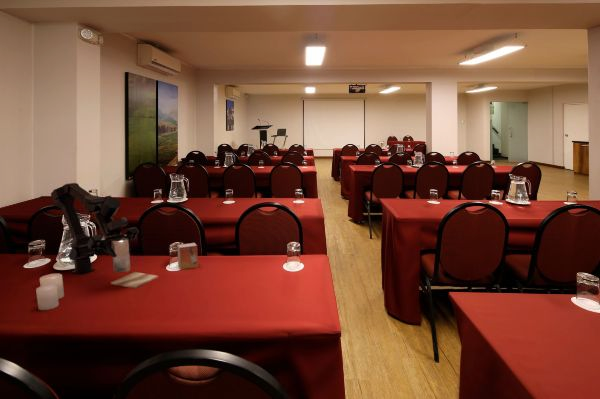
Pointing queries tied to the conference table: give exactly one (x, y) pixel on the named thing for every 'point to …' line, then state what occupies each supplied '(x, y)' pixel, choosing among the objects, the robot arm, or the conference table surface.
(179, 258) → the small box
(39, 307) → the white squat cylinder
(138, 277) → the beige square tile
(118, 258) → the steel flask
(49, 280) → the beige rounded block
